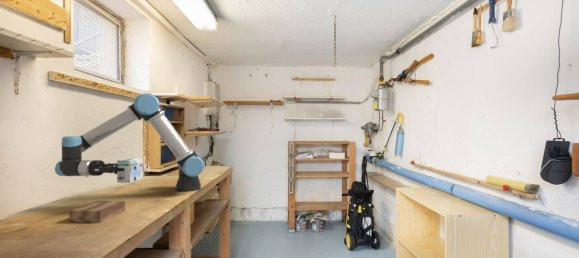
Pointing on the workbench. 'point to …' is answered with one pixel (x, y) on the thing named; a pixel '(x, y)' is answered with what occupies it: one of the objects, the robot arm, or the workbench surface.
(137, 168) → the light bulb box
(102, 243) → the workbench surface
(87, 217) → the walnut block
